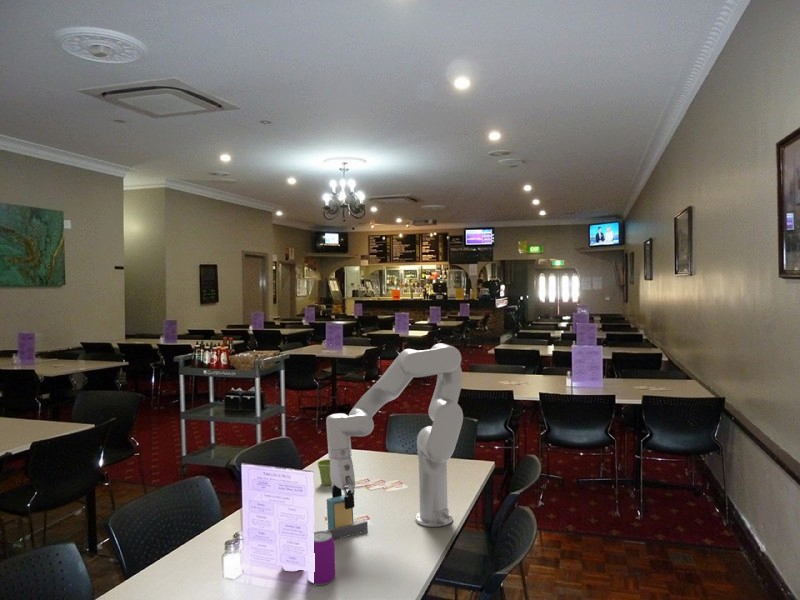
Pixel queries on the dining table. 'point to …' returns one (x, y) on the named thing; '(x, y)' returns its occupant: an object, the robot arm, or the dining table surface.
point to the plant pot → (324, 471)
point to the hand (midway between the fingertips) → (343, 503)
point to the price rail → (348, 529)
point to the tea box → (338, 513)
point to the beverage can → (324, 557)
